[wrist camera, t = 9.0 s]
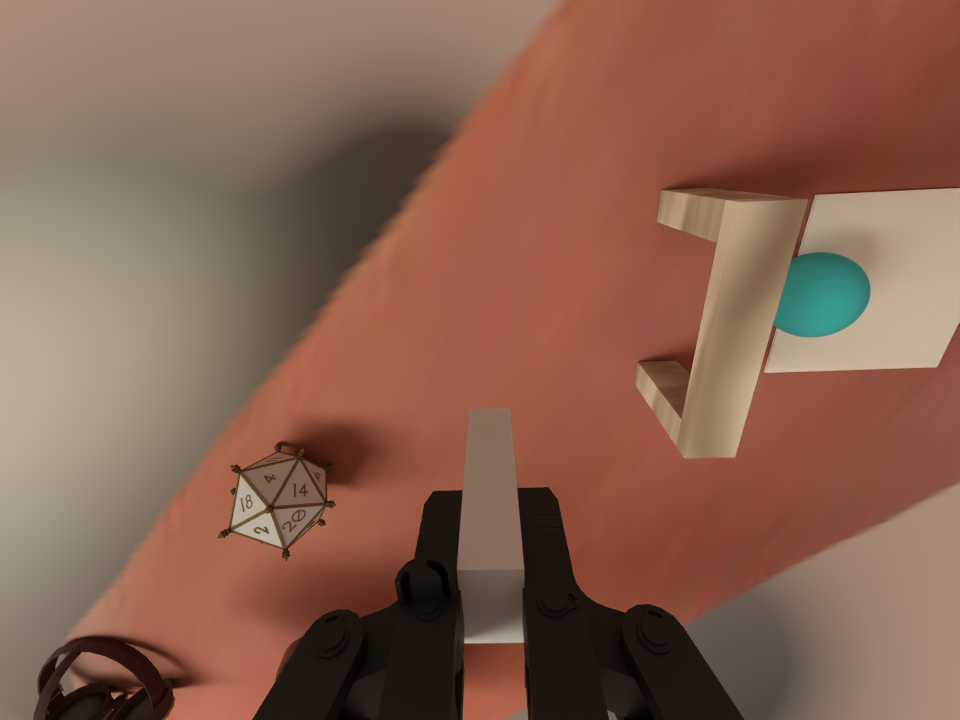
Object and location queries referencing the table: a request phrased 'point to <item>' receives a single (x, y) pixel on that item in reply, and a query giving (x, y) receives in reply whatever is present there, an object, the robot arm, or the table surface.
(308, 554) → the table surface
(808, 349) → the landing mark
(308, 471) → the game die
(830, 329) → the ball
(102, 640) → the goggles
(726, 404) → the bridge
